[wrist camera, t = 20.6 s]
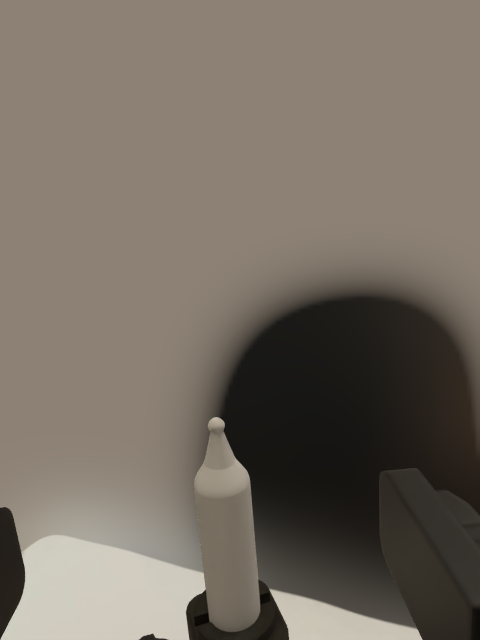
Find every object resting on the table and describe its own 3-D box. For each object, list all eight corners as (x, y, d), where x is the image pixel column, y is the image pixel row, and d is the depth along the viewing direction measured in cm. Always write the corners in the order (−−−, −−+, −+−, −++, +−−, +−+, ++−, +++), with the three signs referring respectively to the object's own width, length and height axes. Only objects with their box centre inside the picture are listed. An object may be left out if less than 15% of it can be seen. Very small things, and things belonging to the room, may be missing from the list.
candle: (203, 758, 30) (157, 409, 25) (274, 728, 32) (247, 391, 26) (223, 857, 25) (174, 452, 20) (306, 817, 27) (282, 428, 21)
